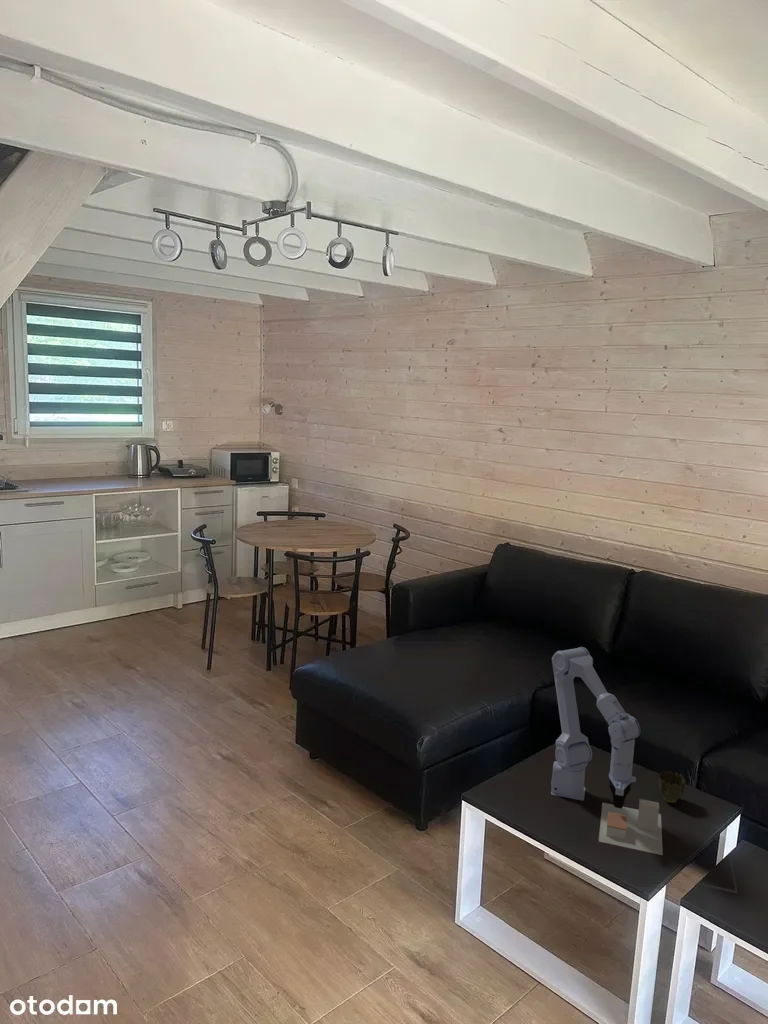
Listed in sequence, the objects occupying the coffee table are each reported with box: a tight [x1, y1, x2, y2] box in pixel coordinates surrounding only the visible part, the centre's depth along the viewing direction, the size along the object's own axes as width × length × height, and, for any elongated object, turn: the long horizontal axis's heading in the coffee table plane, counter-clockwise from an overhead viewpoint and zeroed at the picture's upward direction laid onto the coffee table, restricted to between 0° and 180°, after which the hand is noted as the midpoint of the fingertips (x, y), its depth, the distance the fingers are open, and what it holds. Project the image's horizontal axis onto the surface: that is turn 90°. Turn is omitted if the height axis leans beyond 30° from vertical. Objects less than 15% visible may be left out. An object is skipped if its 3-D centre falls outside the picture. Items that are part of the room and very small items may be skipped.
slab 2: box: [638, 798, 660, 832], centre depth 199 cm, size 5×3×7 cm, turn 71°
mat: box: [598, 802, 664, 856], centre depth 199 cm, size 16×20×1 cm
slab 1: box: [606, 812, 627, 840], centre depth 197 cm, size 5×3×7 cm
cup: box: [658, 770, 687, 804], centre depth 213 cm, size 8×7×8 cm
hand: (618, 806), depth 200 cm, fingers closed
